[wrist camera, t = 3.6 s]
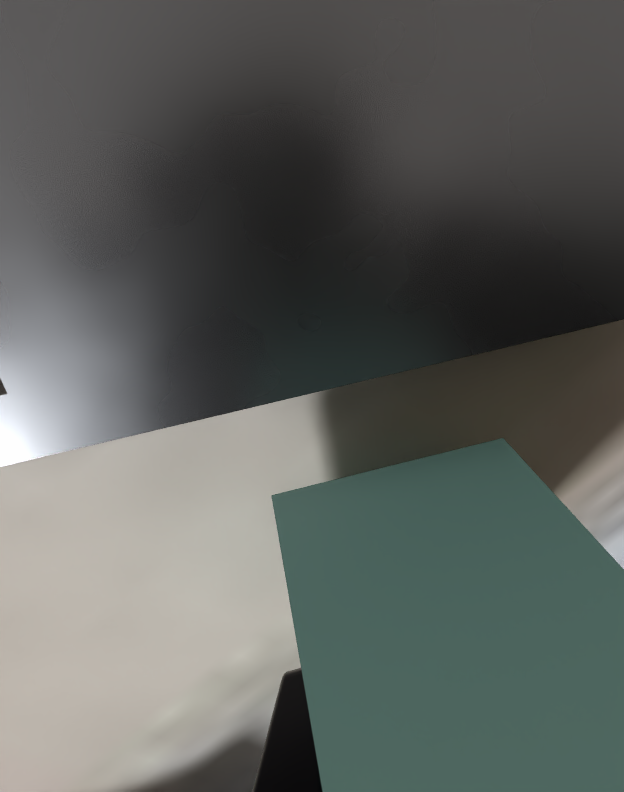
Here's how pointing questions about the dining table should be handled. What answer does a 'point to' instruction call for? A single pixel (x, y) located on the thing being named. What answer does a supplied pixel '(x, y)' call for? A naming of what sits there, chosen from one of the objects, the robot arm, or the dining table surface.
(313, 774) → the robot arm
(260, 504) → the dining table surface
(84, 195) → the grey block with hole
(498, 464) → the teal block
